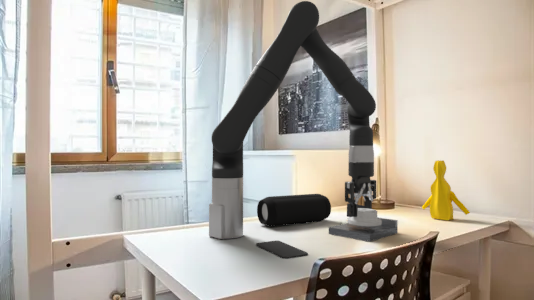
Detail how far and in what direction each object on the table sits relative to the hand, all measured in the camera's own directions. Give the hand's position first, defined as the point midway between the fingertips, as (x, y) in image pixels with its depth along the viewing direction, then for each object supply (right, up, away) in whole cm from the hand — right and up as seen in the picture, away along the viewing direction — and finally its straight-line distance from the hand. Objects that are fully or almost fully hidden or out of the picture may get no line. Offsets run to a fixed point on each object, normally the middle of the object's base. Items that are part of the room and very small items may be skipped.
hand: (361, 214), depth 112 cm
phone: (-25, -6, -19) cm, 32 cm away
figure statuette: (+37, -6, +25) cm, 45 cm away
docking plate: (+1, -6, +1) cm, 6 cm away
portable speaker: (-19, -6, +17) cm, 26 cm away
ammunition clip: (+6, -6, +28) cm, 29 cm away
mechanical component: (+1, -3, -1) cm, 3 cm away
